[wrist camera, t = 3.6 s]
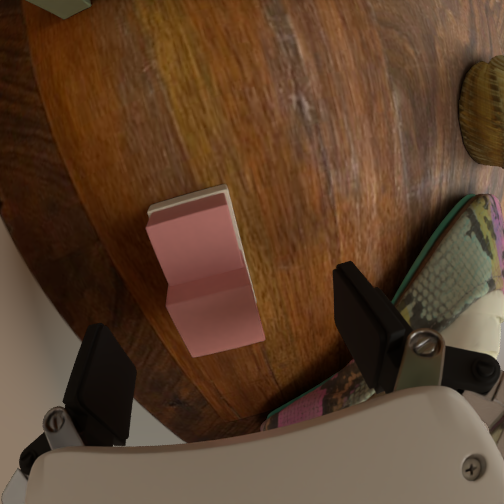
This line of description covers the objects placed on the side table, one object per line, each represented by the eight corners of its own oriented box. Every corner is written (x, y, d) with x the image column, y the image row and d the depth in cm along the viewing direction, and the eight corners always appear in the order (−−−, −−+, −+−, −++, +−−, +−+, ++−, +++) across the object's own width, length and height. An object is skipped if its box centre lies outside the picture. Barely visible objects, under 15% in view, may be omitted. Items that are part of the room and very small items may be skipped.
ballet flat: (497, 231, 19) (574, 292, 10) (303, 431, 29) (328, 507, 19) (462, 159, 15) (585, 222, 6) (227, 421, 25) (244, 519, 15)
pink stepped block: (253, 293, 17) (268, 342, 14) (191, 309, 17) (191, 361, 14) (226, 183, 14) (236, 213, 10) (149, 205, 14) (132, 242, 10)
